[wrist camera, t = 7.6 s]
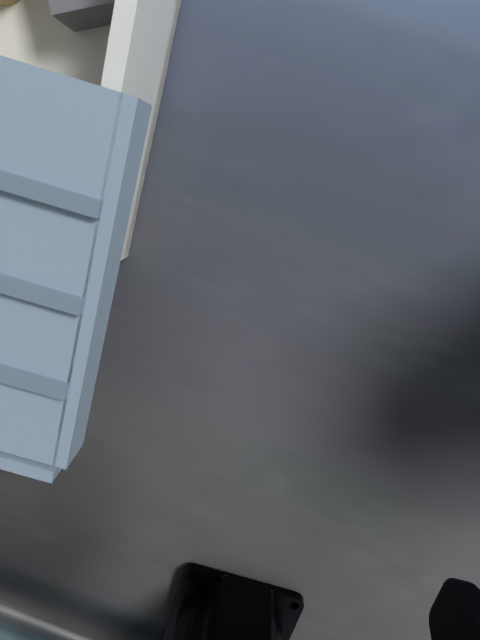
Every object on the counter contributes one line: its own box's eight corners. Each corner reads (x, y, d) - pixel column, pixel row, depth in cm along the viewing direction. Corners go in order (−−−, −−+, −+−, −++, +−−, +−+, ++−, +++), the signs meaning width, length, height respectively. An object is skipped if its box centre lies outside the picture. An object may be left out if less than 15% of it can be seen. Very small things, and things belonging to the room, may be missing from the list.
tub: (127, 256, 19) (86, 281, 15) (-84, 193, 19) (-188, 200, 14) (199, -86, 15) (172, -187, 11) (-65, -171, 15) (-199, -308, 11)
